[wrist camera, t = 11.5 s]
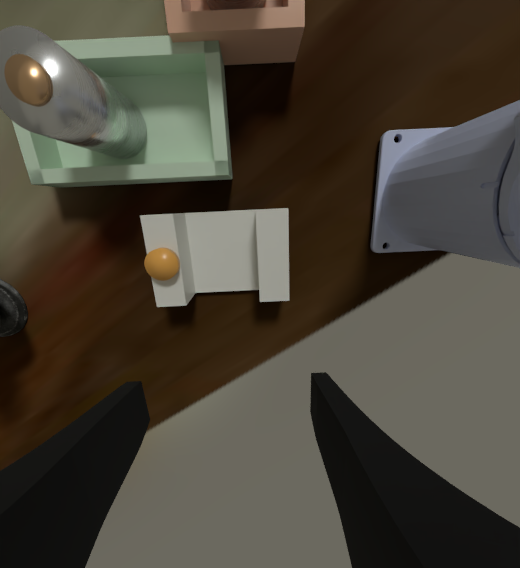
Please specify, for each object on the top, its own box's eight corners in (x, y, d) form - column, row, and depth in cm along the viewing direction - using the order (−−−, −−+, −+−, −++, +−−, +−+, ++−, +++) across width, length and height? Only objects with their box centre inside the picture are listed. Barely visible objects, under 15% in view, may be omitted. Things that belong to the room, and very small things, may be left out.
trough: (223, 59, 15) (217, 33, 13) (232, 179, 17) (228, 174, 15) (28, 68, 15) (-12, 44, 13) (60, 187, 17) (31, 184, 15)
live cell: (149, 159, 16) (81, 133, 10) (95, 158, 16) (-6, 131, 10) (142, 94, 15) (60, 20, 9) (84, 93, 15) (-37, 19, 9)
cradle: (283, 208, 17) (289, 208, 14) (284, 287, 19) (290, 303, 16) (156, 214, 17) (131, 215, 14) (169, 292, 19) (150, 310, 16)
